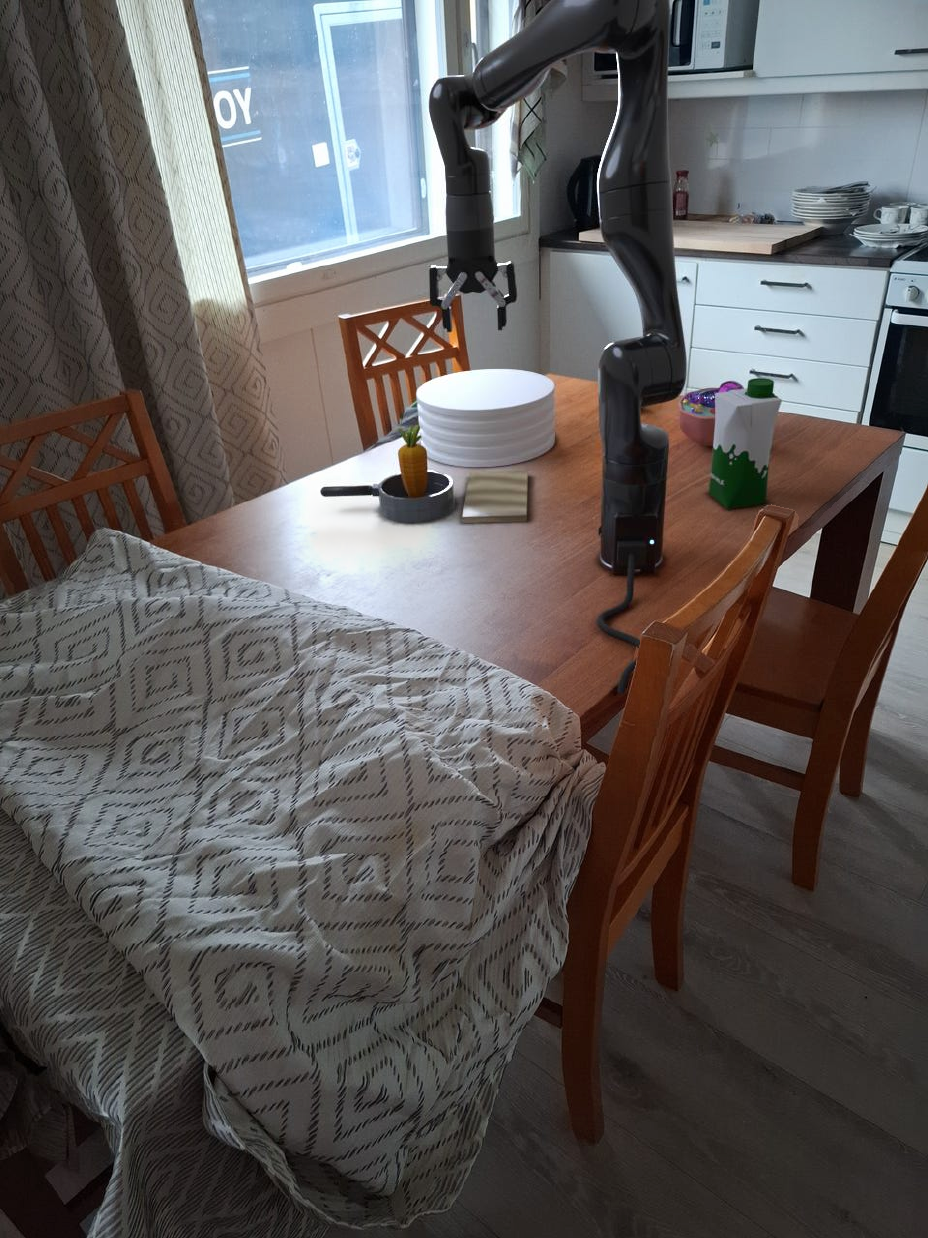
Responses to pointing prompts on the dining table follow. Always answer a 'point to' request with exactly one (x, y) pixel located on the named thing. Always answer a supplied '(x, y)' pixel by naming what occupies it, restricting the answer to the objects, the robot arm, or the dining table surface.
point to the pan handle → (350, 490)
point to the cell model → (701, 412)
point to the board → (496, 497)
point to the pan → (416, 499)
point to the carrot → (413, 463)
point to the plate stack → (486, 417)
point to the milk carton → (743, 443)
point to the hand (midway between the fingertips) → (475, 330)
